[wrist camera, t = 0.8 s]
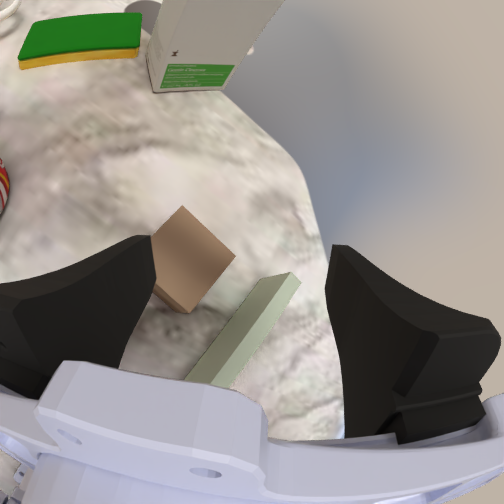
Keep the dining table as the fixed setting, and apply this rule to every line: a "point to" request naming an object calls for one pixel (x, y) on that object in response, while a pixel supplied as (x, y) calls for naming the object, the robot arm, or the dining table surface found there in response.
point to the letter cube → (186, 261)
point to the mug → (9, 9)
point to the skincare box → (203, 41)
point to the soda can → (3, 186)
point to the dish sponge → (81, 39)
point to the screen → (245, 331)
